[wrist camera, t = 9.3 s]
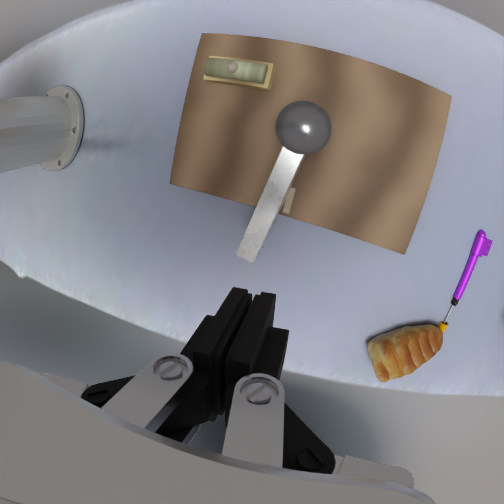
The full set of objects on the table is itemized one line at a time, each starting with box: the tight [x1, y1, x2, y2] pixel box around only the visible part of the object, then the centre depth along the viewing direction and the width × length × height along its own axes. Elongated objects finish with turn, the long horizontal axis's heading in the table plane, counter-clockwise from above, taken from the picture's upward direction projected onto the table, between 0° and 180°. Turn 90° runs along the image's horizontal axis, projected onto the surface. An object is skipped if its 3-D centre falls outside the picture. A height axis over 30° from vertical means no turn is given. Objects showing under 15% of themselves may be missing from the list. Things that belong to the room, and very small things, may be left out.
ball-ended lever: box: [236, 101, 331, 263], centre depth 23 cm, size 14×4×4 cm, turn 157°
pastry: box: [367, 324, 443, 382], centre depth 28 cm, size 9×7×4 cm
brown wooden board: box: [170, 33, 452, 255], centre depth 23 cm, size 24×16×5 cm, turn 77°
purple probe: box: [437, 230, 492, 333], centre depth 26 cm, size 3×1×16 cm
